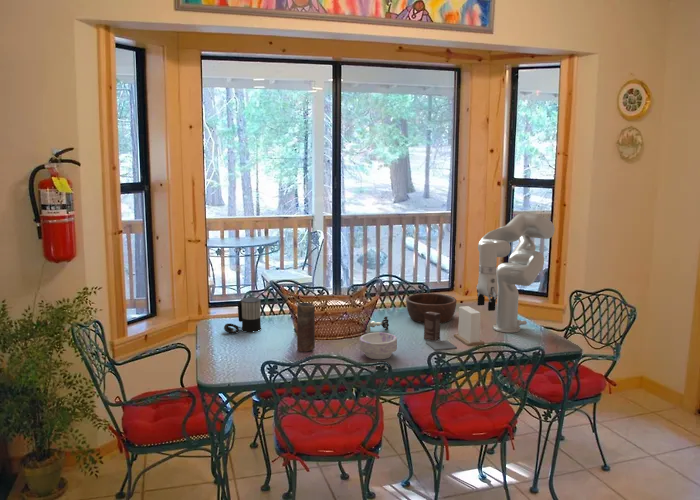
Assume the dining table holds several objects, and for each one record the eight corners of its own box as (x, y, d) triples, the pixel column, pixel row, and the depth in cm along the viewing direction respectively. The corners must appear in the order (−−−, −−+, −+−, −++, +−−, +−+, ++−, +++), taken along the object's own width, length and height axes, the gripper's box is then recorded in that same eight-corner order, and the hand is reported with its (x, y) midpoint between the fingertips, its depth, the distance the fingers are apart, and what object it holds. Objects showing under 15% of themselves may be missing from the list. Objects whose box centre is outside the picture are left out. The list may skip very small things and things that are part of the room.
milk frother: (265, 328, 284) (264, 298, 281) (245, 337, 270) (244, 305, 267) (241, 325, 290) (240, 295, 288) (220, 333, 276) (219, 302, 274)
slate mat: (446, 341, 264) (446, 340, 264) (456, 348, 254) (456, 347, 254) (425, 343, 261) (425, 342, 261) (434, 350, 252) (434, 349, 252)
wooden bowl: (404, 311, 314) (404, 292, 313) (452, 312, 313) (453, 293, 312) (407, 325, 289) (407, 304, 288) (459, 325, 288) (459, 305, 287)
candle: (306, 346, 258) (305, 300, 255) (318, 349, 253) (318, 303, 250) (293, 350, 252) (292, 304, 249) (306, 354, 247) (305, 307, 244)
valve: (363, 333, 276) (388, 332, 278) (363, 319, 275) (389, 318, 277) (360, 329, 282) (385, 328, 285) (360, 316, 281) (385, 314, 284)
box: (440, 339, 267) (440, 313, 265) (434, 341, 264) (435, 315, 262) (429, 336, 271) (429, 310, 269) (423, 338, 268) (423, 312, 266)
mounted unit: (469, 335, 273) (470, 305, 271) (484, 344, 260) (485, 313, 258) (453, 336, 271) (454, 306, 269) (467, 345, 258) (468, 314, 256)
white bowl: (352, 356, 245) (352, 337, 243) (375, 347, 256) (375, 329, 255) (381, 365, 235) (381, 345, 233) (404, 355, 246) (404, 336, 245)
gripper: (505, 273, 255) (503, 312, 258) (485, 265, 272) (484, 302, 275) (489, 274, 254) (487, 313, 256) (470, 266, 270) (469, 303, 273)
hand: (486, 307), depth 265 cm, fingers open, 9 cm apart
